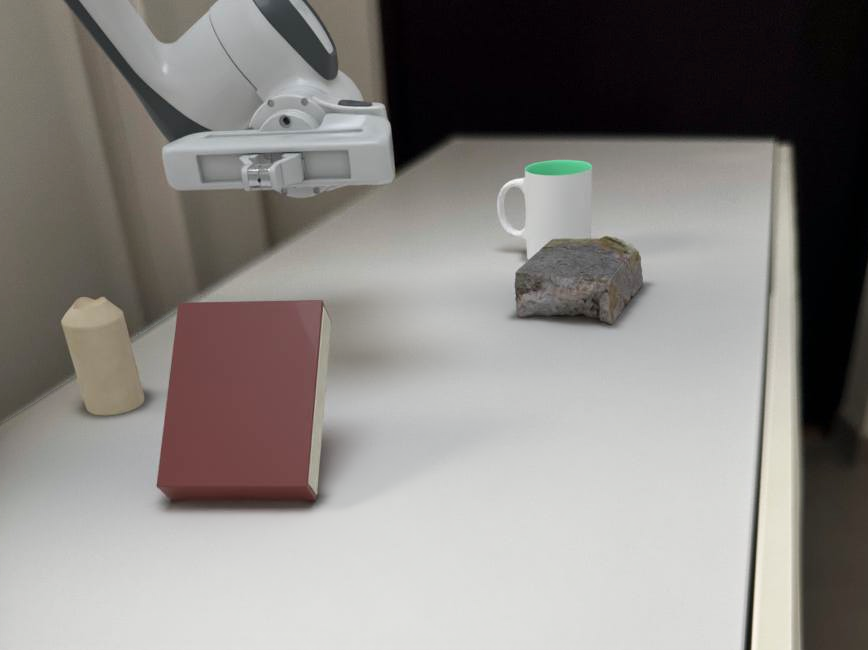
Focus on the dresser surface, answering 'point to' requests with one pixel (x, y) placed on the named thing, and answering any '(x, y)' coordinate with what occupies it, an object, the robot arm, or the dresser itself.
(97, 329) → the candle
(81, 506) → the dresser surface
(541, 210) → the mug
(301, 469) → the book
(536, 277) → the geological specimen
